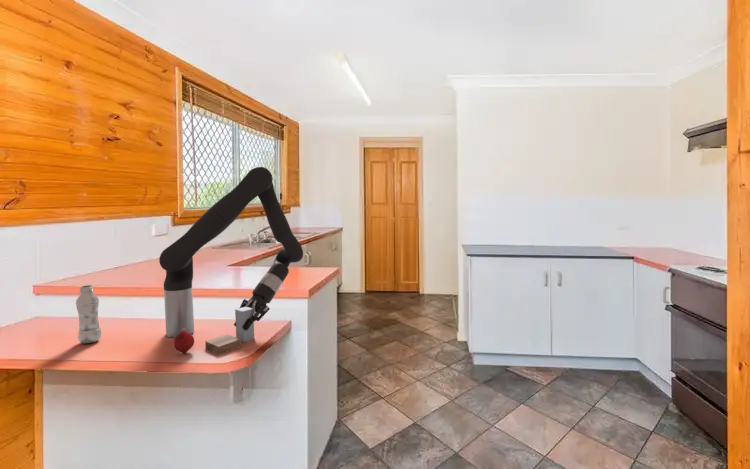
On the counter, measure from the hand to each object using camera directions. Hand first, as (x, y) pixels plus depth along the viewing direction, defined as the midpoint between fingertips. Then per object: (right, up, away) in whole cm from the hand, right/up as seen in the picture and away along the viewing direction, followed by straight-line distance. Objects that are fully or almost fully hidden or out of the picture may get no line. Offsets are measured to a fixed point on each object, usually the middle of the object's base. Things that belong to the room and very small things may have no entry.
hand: (240, 327), depth 127 cm
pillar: (+1, -5, +2) cm, 5 cm away
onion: (-14, -6, -10) cm, 18 cm away
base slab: (-3, -6, -6) cm, 9 cm away
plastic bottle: (-53, -5, 0) cm, 53 cm away
